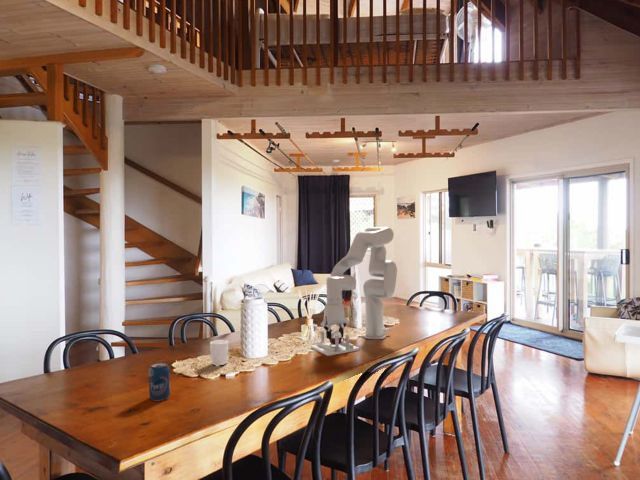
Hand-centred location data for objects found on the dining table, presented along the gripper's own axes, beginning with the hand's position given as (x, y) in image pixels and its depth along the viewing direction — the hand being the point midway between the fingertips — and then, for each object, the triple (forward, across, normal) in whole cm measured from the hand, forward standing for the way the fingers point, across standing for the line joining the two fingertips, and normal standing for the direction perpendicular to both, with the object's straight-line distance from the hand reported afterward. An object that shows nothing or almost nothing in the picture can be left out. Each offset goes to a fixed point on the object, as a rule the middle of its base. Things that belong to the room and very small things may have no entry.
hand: (335, 337), depth 217 cm
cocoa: (+3, 0, 0) cm, 3 cm away
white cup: (+6, +56, -7) cm, 57 cm away
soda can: (+6, +86, +20) cm, 89 cm away
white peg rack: (+6, 0, 0) cm, 6 cm away
